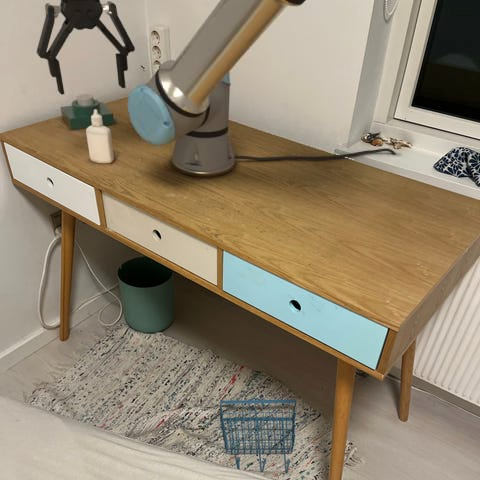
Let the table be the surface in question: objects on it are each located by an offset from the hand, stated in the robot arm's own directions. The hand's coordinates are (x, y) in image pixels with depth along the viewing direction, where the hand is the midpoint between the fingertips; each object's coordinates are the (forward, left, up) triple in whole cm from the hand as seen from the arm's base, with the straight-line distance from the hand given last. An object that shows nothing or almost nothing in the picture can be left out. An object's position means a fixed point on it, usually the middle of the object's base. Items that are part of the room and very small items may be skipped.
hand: (92, 89), depth 112 cm
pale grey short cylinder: (-4, -27, -12) cm, 30 cm away
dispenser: (-4, -27, -16) cm, 32 cm away
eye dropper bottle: (0, 0, -17) cm, 17 cm away
